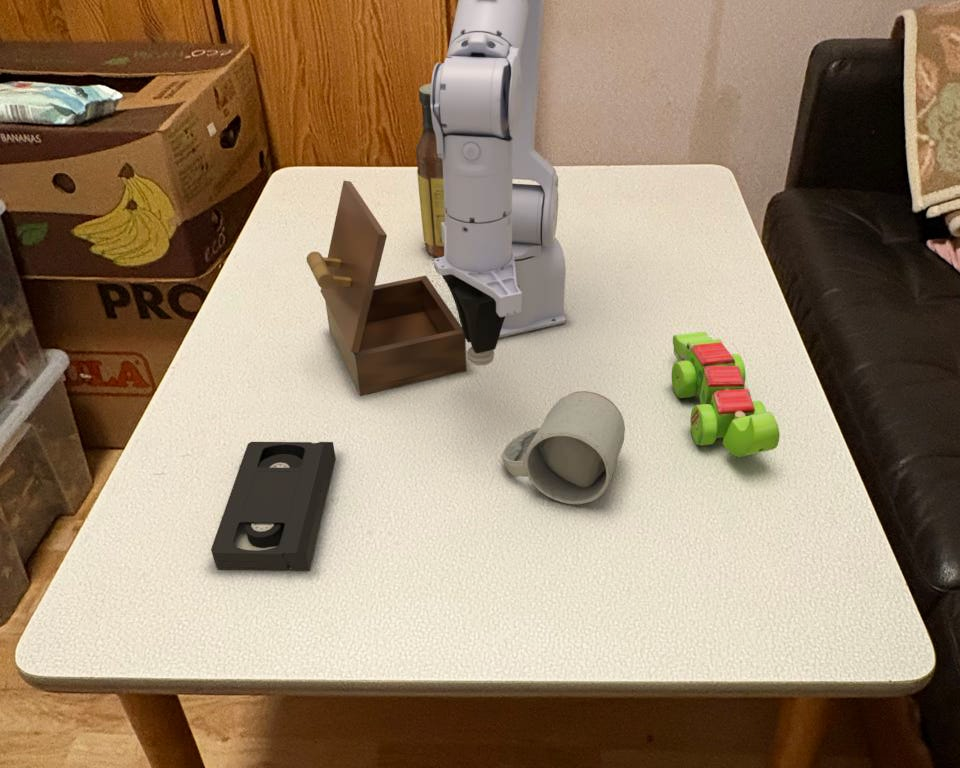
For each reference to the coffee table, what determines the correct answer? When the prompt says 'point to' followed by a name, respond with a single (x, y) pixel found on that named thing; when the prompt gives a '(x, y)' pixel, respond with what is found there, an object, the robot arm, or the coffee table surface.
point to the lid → (350, 265)
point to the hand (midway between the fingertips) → (480, 344)
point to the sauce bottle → (430, 179)
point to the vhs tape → (275, 507)
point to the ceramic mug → (571, 449)
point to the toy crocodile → (720, 396)
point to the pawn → (480, 357)
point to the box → (403, 338)
